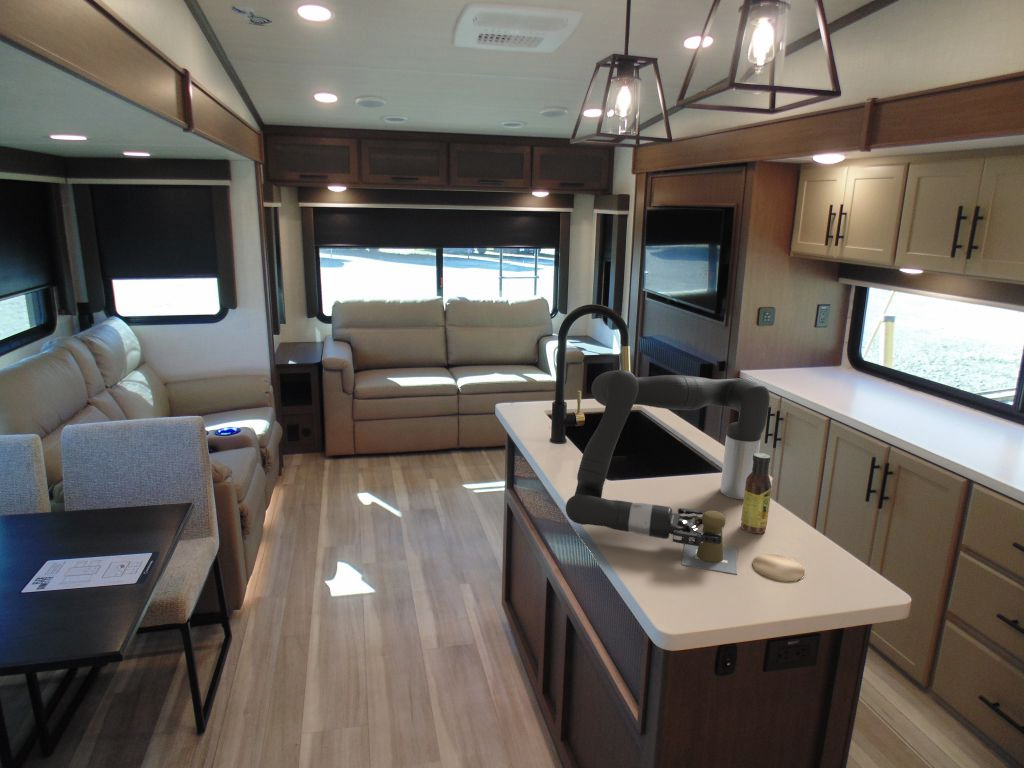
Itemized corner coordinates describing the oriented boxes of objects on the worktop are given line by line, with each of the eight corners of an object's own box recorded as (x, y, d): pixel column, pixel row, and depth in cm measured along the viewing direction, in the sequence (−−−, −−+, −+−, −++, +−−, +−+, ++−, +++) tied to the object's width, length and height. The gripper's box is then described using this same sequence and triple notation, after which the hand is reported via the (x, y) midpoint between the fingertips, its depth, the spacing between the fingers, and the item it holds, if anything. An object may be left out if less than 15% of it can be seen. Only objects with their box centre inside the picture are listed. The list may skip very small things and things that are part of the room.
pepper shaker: (726, 563, 154) (731, 519, 151) (700, 562, 154) (704, 518, 151) (719, 550, 159) (723, 507, 157) (693, 549, 160) (697, 507, 157)
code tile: (685, 541, 164) (685, 540, 164) (736, 549, 160) (736, 548, 160) (681, 565, 153) (681, 564, 153) (736, 574, 149) (736, 573, 149)
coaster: (752, 553, 159) (752, 550, 159) (802, 561, 156) (802, 558, 156) (753, 576, 149) (753, 573, 149) (806, 585, 146) (806, 583, 145)
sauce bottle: (764, 536, 167) (774, 462, 162) (738, 531, 170) (747, 457, 165) (767, 526, 173) (776, 453, 168) (741, 521, 175) (750, 449, 170)
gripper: (647, 518, 152) (722, 530, 147) (654, 493, 165) (724, 503, 160) (644, 548, 153) (719, 560, 149) (652, 521, 167) (720, 532, 162)
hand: (721, 531), depth 154 cm, fingers open, 7 cm apart
